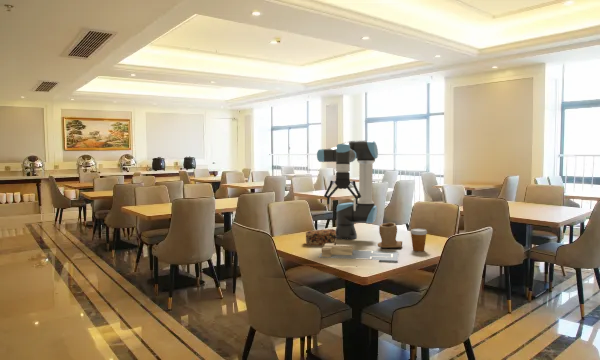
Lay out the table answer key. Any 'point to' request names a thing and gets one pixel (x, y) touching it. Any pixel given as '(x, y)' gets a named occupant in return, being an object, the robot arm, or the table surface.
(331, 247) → the t block
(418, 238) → the disposable coffee cup
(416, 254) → the table surface
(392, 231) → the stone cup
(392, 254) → the t board
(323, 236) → the bread
